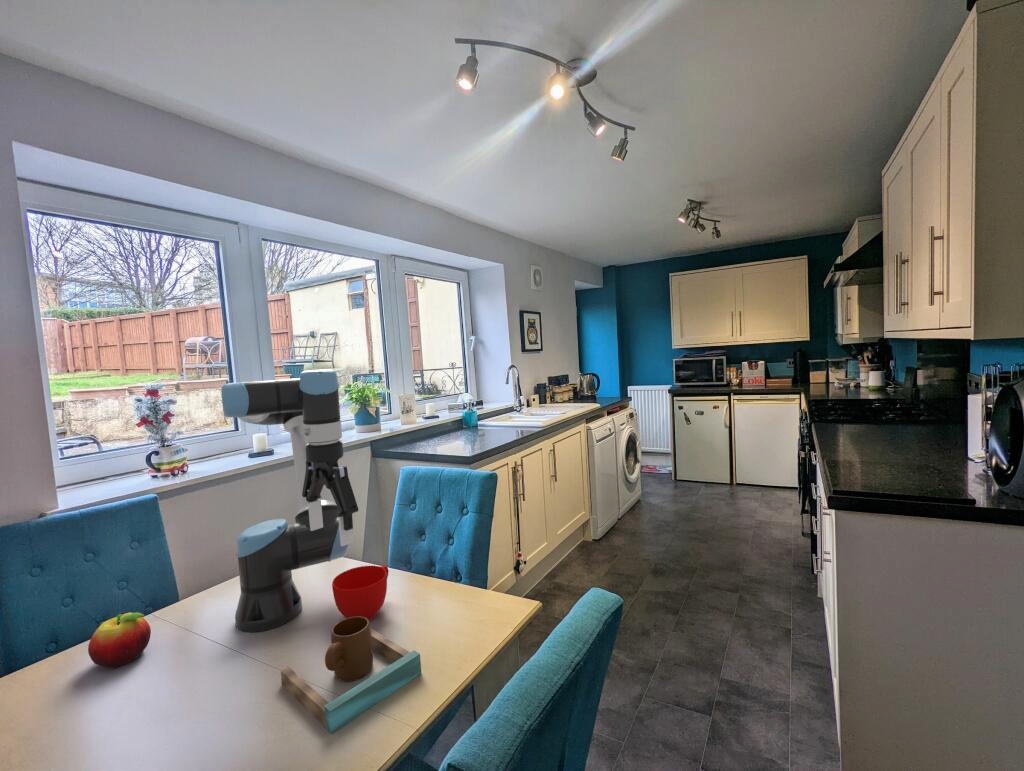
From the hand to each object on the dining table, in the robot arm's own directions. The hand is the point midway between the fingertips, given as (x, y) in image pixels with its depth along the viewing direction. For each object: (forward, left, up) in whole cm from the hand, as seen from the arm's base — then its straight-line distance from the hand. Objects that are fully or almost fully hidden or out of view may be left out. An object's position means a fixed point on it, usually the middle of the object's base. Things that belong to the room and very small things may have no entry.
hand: (331, 536), depth 103 cm
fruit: (-37, -32, -25) cm, 55 cm away
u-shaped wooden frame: (+11, -4, -25) cm, 28 cm away
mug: (+11, -5, -25) cm, 28 cm away
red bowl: (-8, +12, -25) cm, 29 cm away
